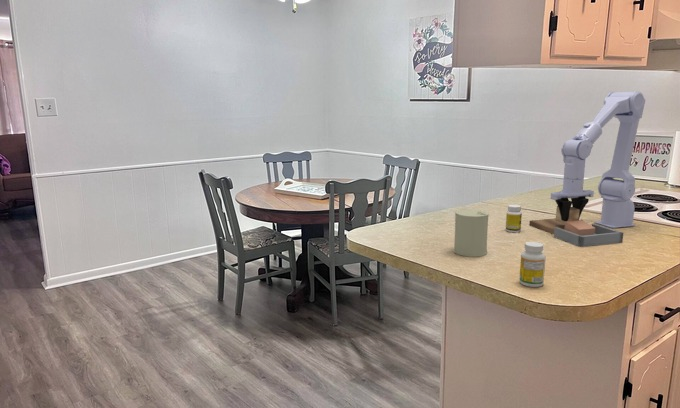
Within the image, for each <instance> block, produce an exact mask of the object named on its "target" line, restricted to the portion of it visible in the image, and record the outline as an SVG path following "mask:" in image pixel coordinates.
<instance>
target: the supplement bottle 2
mask: <svg viewBox="0 0 680 408" xmlns="http://www.w3.org/2000/svg"><path fill="white" fill-rule="evenodd" d="M543 251H544V244H543V243H540V242H537V241H527V242H524V250H523V251H522V252H521V255H520V267H519V268H520V269H519V283H520V284H521V285H522V286H523V285H524V286H526V287H530V288H540V287H542V286H543V285H544V282H545V269H546V254H545V253H544V252H543Z"/></svg>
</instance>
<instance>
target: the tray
mask: <svg viewBox="0 0 680 408" xmlns="http://www.w3.org/2000/svg"><path fill="white" fill-rule="evenodd" d="M591 226H593V227H595V228H596V229H595V232H594V235H585V236H581V235H578V234H575V233H572V232H569V231H566V230H563V229H561V228H558V227H555V228H554V234H553V238H556V239H558V240H561V241H564V242H566V243H569V244H572V245H574V246H576V247H579V248H583V247H591V246H601V245H609V244H611V245H613V244H619V243H621V244H622V243H623V241H624V232H622V231H619V230H616V229H614V228H610V227H607V226H604V225H601V224H597V223H591Z"/></svg>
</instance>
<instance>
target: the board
mask: <svg viewBox="0 0 680 408" xmlns="http://www.w3.org/2000/svg"><path fill="white" fill-rule="evenodd" d="M555 220H556V217H555V218H544V219H532V220H529V224H528V225H529V226H530V227H533V228H535V229H538V230H541V231H543V232H547V233H549V234H552V235H554V228H555V227H558V228H561V229H563V230H564V227H565V224H563V223H560V222H558V221H555Z"/></svg>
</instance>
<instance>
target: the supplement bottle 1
mask: <svg viewBox="0 0 680 408" xmlns="http://www.w3.org/2000/svg"><path fill="white" fill-rule="evenodd" d="M521 210H522V206H521V205H519V204H509V205H507V210H506V214H505V217H506V218H505V219H506V220H505V231H506V232H509V233H520V232H521V230H522V216H523V214H522V213H523V212H522V211H521Z"/></svg>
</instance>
